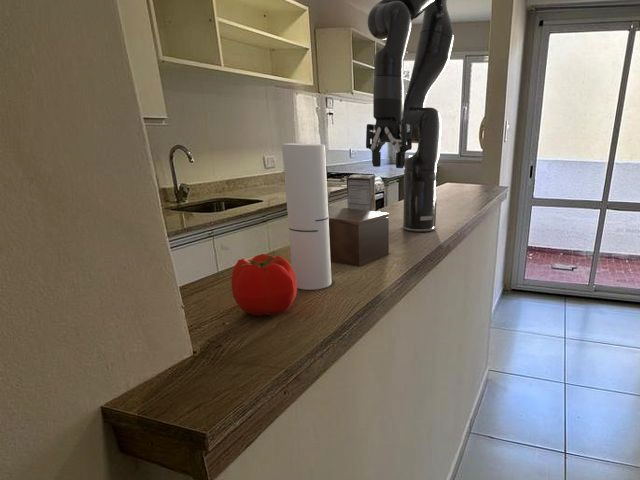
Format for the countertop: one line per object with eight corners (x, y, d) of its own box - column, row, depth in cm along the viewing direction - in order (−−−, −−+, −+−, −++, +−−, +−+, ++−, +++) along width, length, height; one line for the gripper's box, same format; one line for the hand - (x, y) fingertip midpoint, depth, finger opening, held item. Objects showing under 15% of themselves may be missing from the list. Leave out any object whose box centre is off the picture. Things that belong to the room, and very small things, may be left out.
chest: (302, 255, 103) (300, 217, 100) (335, 244, 114) (334, 209, 110) (359, 266, 97) (358, 226, 93) (388, 253, 107) (388, 216, 104)
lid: (297, 217, 100) (295, 194, 98) (331, 209, 110) (330, 188, 109) (358, 225, 93) (357, 201, 92) (388, 216, 104) (388, 194, 102)
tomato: (258, 295, 79) (252, 247, 75) (313, 304, 76) (309, 254, 72) (215, 317, 69) (207, 264, 66) (276, 328, 66) (270, 273, 63)
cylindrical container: (339, 283, 86) (333, 145, 76) (307, 292, 81) (297, 145, 71) (317, 275, 90) (309, 143, 81) (286, 282, 85) (273, 143, 76)
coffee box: (353, 232, 127) (352, 173, 121) (376, 233, 127) (375, 174, 121) (348, 240, 118) (346, 177, 112) (372, 241, 118) (371, 178, 112)
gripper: (420, 98, 108) (417, 168, 114) (379, 101, 117) (379, 166, 123) (398, 95, 103) (397, 168, 109) (357, 98, 112) (358, 166, 117)
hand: (387, 167), depth 116 cm, fingers open, 8 cm apart
